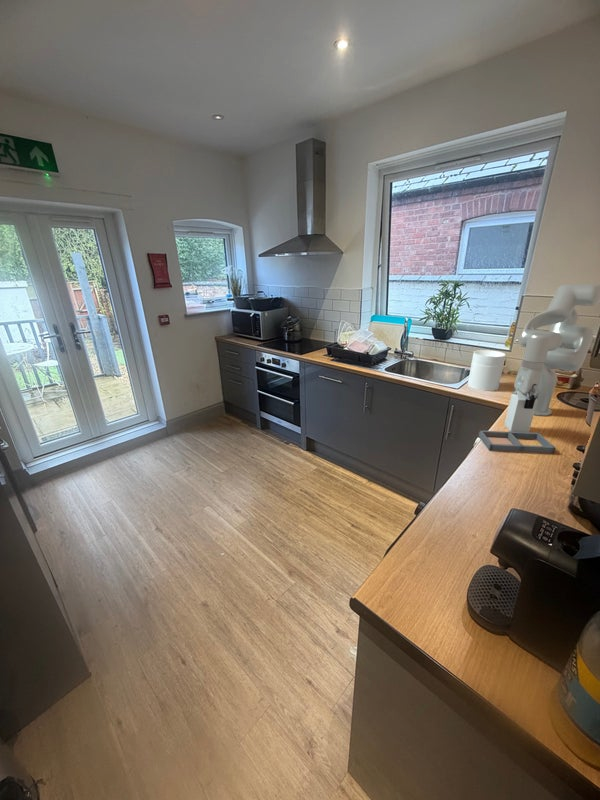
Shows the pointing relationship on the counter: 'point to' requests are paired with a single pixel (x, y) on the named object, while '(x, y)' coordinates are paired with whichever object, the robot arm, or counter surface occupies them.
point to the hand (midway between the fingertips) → (522, 404)
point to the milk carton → (519, 413)
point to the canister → (486, 370)
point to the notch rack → (514, 442)
